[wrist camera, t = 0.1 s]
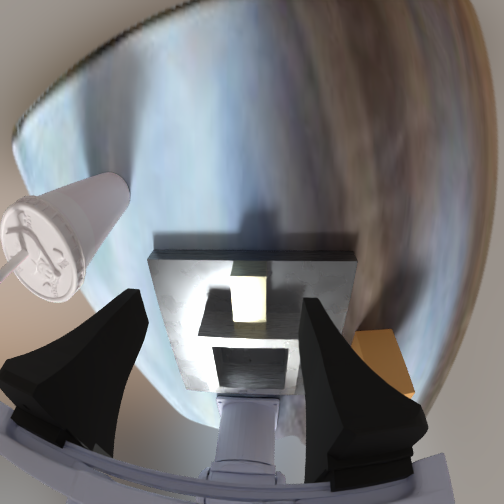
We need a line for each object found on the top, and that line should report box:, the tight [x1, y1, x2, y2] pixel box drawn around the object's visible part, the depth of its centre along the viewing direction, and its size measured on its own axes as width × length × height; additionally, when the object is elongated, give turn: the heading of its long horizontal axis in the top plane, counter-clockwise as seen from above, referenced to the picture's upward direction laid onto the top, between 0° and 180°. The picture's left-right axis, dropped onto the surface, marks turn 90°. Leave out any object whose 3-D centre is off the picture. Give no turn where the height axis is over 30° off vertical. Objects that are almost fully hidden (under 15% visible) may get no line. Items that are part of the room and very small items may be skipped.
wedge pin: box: [351, 329, 415, 399], centre depth 23 cm, size 4×4×8 cm
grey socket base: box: [147, 250, 358, 395], centre depth 25 cm, size 18×16×4 cm
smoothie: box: [0, 172, 130, 303], centre depth 14 cm, size 6×6×14 cm
